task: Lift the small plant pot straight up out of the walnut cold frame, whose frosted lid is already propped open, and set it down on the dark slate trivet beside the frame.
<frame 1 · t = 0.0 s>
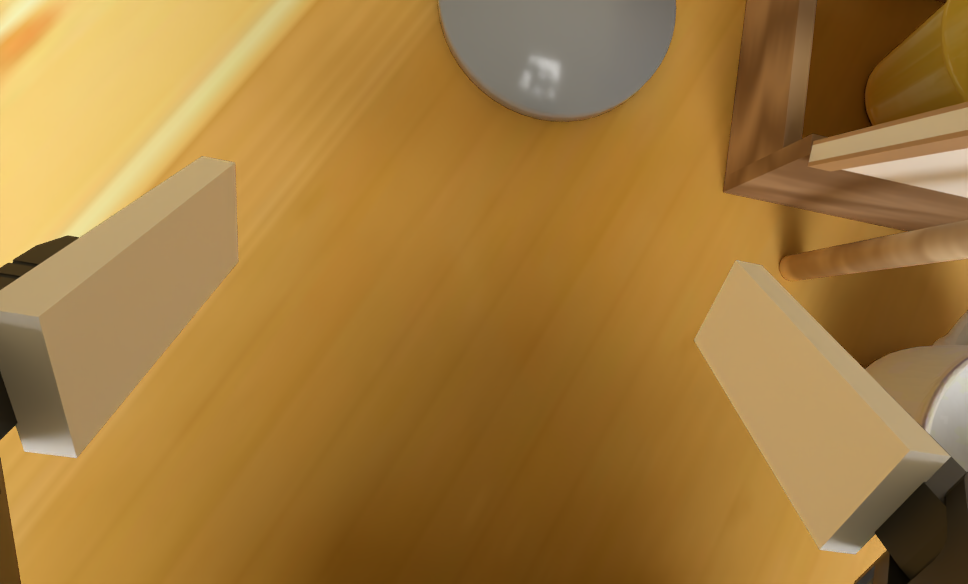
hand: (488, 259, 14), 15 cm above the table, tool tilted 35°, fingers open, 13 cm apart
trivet: (555, 7, 31), on the table
prop sticks: (892, 287, 33), on the table
cold frame: (908, 102, 34), on the table
teacup: (892, 404, 32), on the table
lid: (897, 229, 33), resting on cold frame
plant pot: (905, 103, 34), resting in cold frame
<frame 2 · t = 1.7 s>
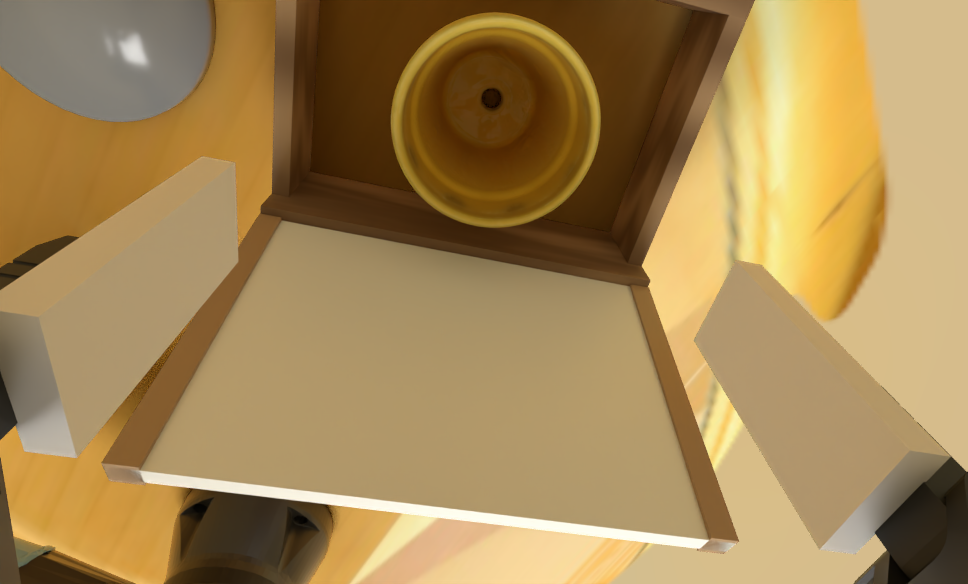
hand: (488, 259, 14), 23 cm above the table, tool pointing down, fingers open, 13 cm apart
cold frame: (489, 96, 34), on the table
lid: (463, 215, 38), resting on cold frame
plant pot: (489, 95, 34), resting in cold frame
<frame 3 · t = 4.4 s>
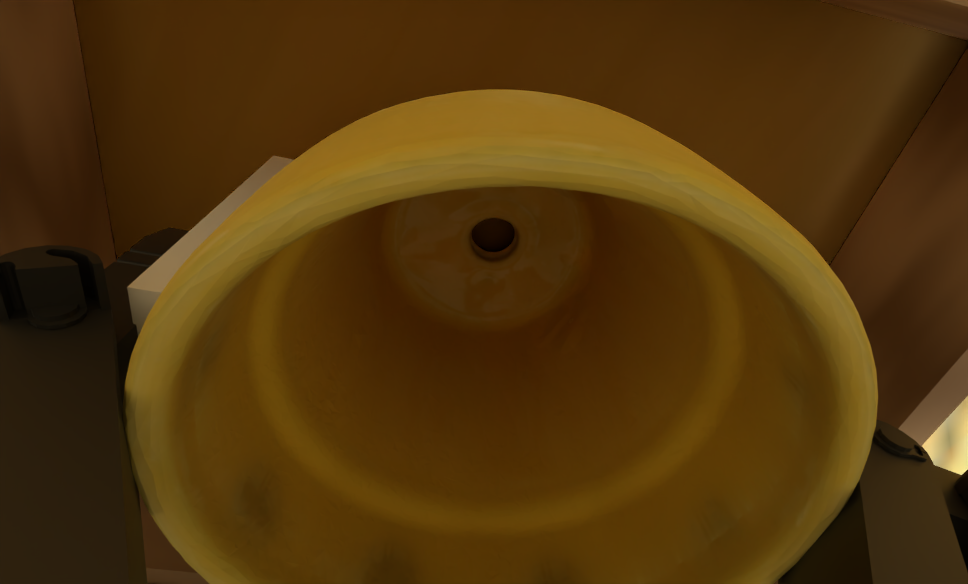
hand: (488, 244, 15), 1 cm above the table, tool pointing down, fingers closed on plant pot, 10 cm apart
cold frame: (487, 225, 16), on the table
plant pot: (488, 222, 16), resting in cold frame, touching gripper
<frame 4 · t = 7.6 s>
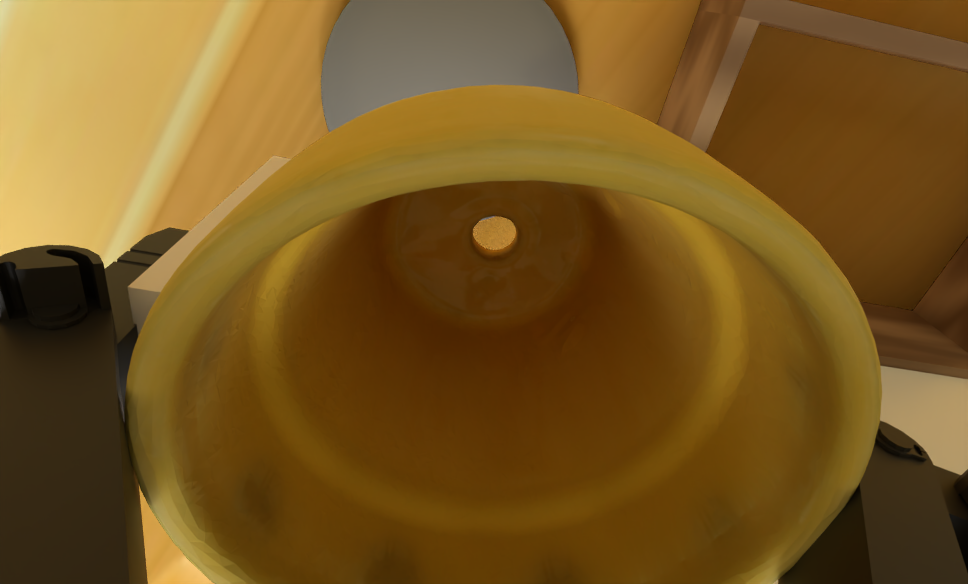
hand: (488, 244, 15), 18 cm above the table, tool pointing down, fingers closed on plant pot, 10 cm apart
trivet: (451, 101, 30), on the table
cold frame: (829, 185, 33), on the table
lid: (766, 298, 37), resting on cold frame
plant pot: (489, 221, 16), point 16 cm above the table, touching gripper
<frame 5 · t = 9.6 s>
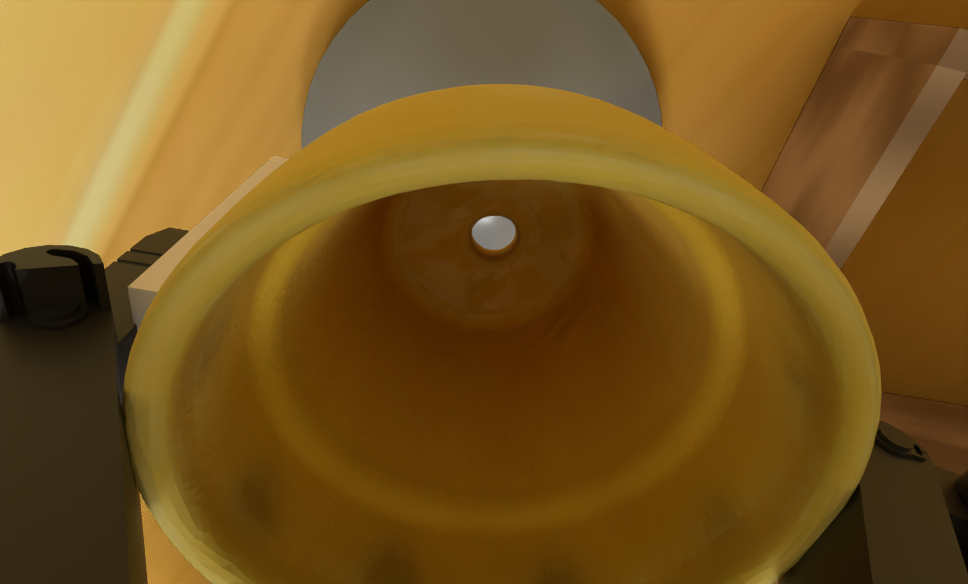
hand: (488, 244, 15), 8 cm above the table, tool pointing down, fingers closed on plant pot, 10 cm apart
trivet: (482, 162, 22), on the table
plant pot: (489, 220, 16), point 7 cm above the table, touching gripper
when the fingers open (4 cm above the table, at t = 11.0 s): plant pot drops 1 cm, resting on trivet.
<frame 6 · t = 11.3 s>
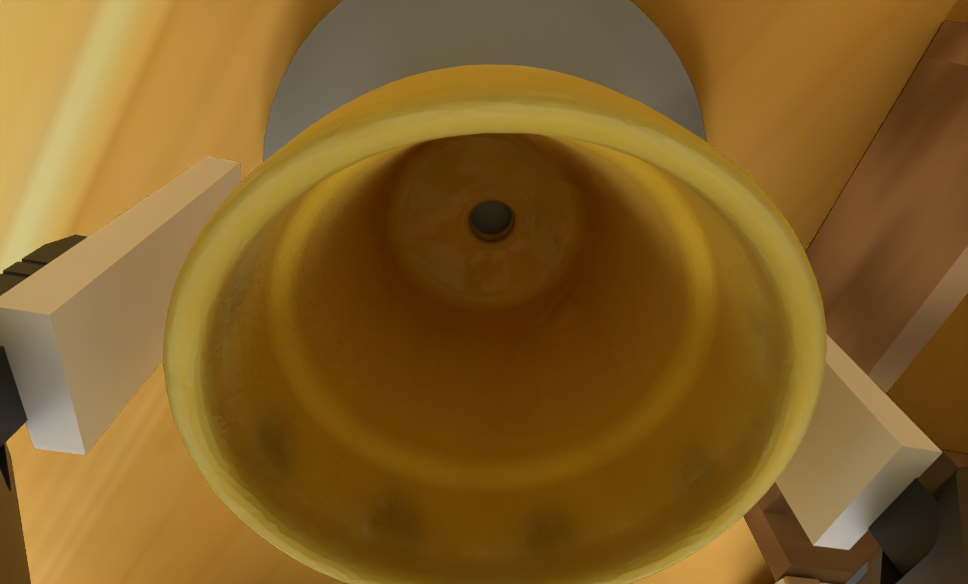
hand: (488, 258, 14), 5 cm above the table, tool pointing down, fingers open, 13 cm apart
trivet: (485, 195, 18), on the table
lid: (929, 464, 25), resting on cold frame
plant pot: (487, 207, 17), point 1 cm above the table, touching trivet
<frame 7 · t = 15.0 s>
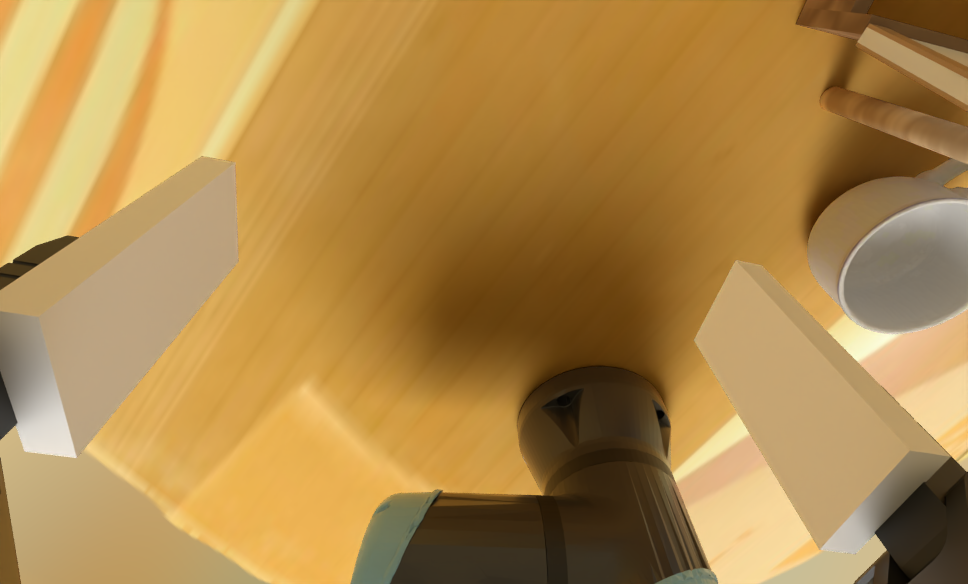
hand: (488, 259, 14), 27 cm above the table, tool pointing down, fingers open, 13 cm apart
prop sticks: (916, 118, 38), on the table
teacup: (869, 209, 42), on the table
lid: (950, 64, 36), resting on cold frame
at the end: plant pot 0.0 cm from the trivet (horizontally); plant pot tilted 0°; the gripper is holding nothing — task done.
